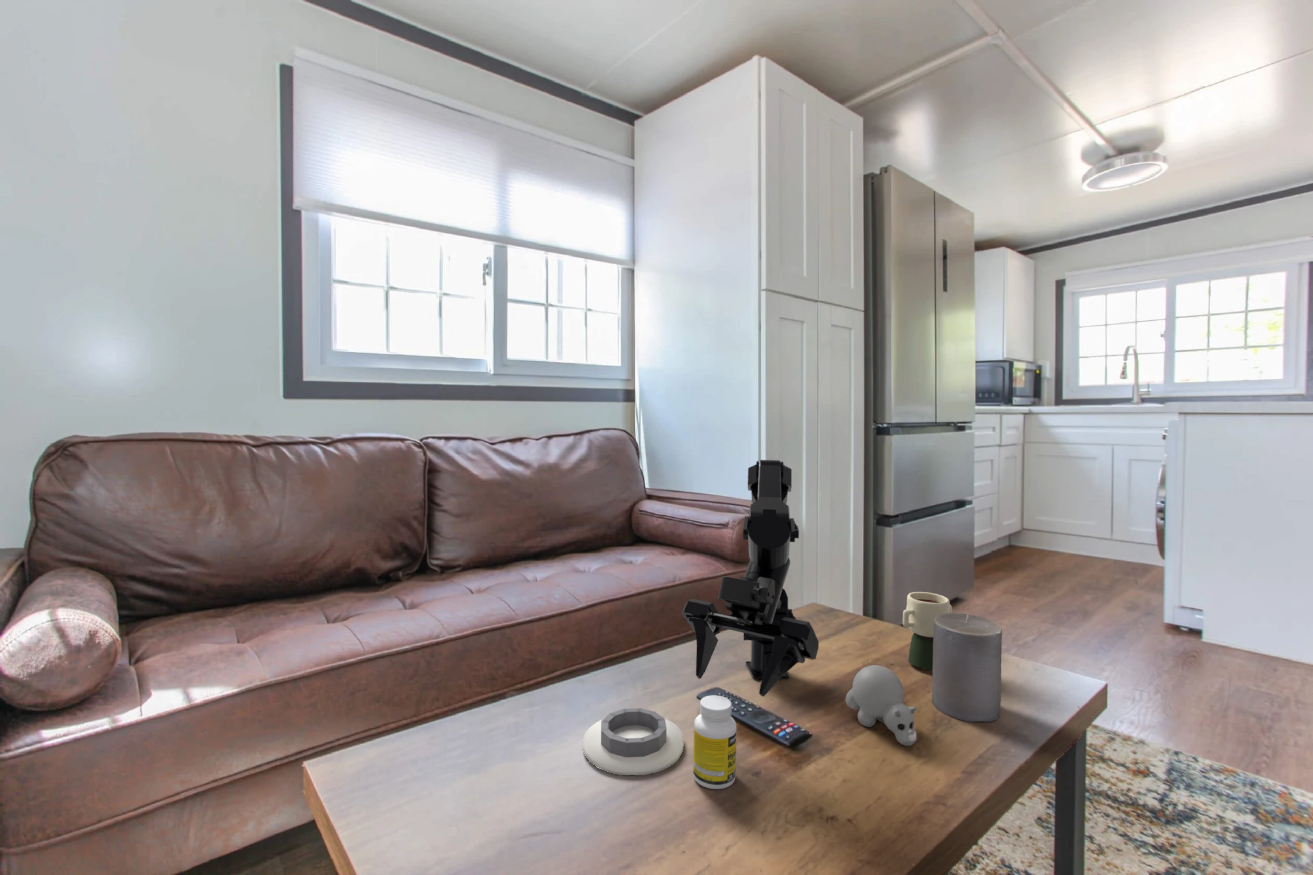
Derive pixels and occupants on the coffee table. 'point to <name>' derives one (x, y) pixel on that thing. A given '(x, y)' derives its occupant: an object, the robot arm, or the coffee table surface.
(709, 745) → the supplement bottle
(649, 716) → the socket collar
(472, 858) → the coffee table surface
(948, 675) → the pillar candle
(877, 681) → the chubby cartoon animal
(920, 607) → the character mug
